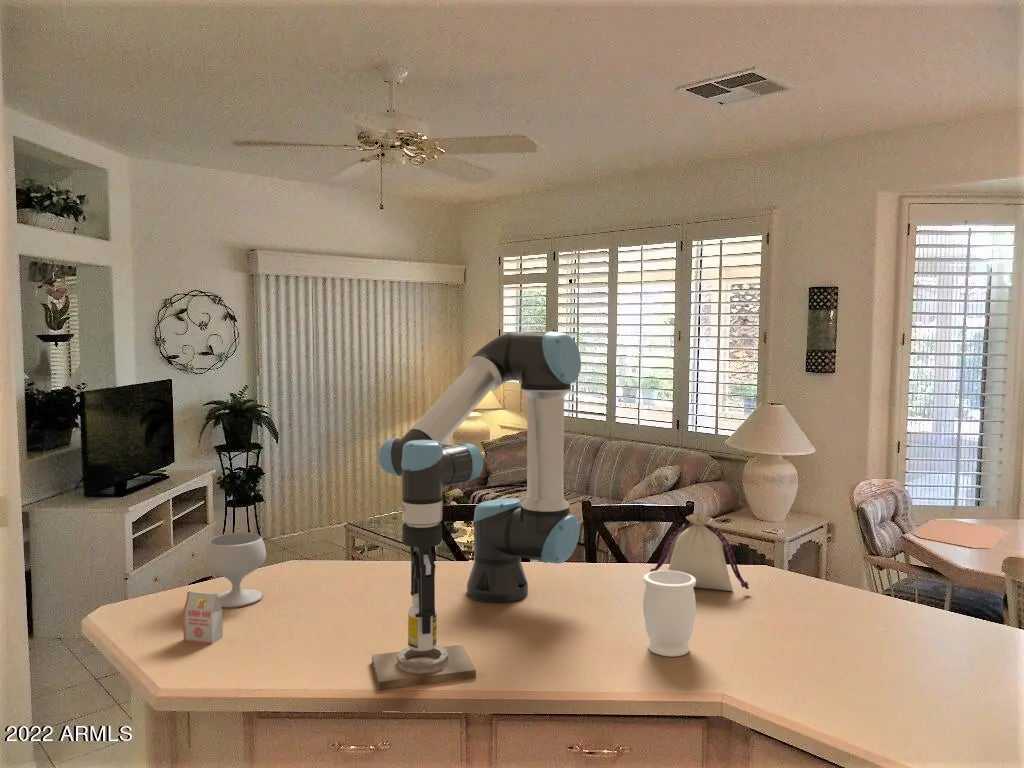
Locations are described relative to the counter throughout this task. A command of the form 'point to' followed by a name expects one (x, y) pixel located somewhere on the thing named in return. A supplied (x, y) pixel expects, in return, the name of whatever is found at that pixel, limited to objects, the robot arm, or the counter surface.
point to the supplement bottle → (414, 625)
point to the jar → (669, 611)
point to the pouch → (701, 554)
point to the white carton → (202, 618)
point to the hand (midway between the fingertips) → (422, 642)
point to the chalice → (235, 564)
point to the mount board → (422, 666)
